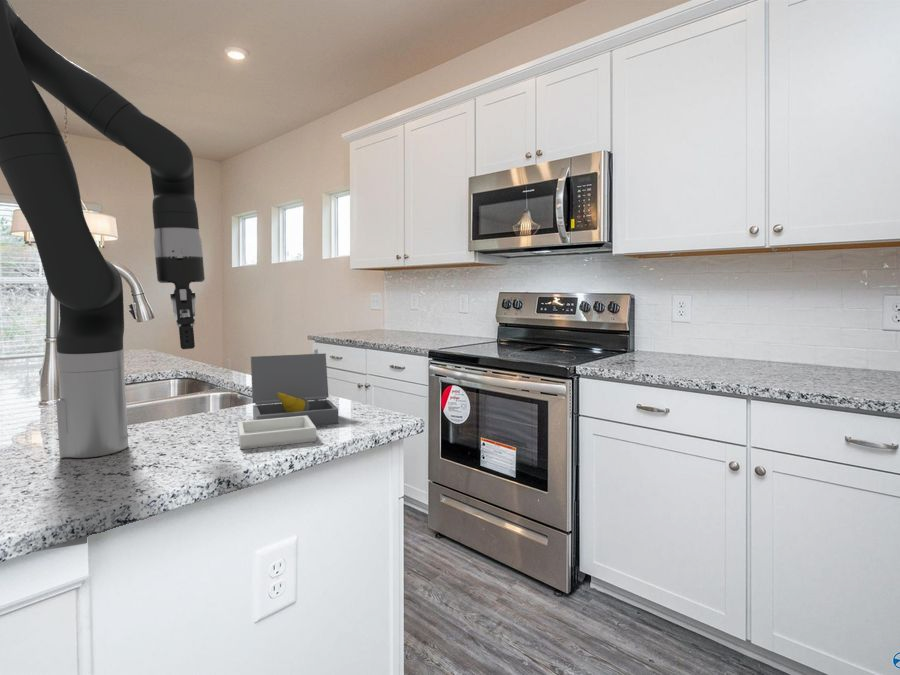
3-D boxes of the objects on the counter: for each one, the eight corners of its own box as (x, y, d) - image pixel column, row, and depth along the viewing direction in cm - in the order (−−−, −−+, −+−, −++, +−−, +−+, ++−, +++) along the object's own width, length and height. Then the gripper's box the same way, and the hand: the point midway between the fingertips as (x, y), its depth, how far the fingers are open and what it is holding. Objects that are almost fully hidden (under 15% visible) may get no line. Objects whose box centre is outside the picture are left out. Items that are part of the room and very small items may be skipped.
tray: (240, 449, 90) (240, 435, 90) (237, 434, 99) (237, 421, 99) (316, 441, 96) (316, 427, 96) (307, 427, 105) (307, 415, 105)
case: (256, 431, 102) (256, 416, 102) (253, 419, 111) (252, 405, 111) (338, 423, 108) (338, 409, 108) (328, 412, 117) (328, 399, 117)
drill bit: (316, 423, 110) (286, 397, 104) (295, 432, 111) (264, 406, 105) (318, 404, 114) (289, 377, 108) (298, 412, 115) (268, 387, 109)
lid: (250, 356, 112) (250, 357, 112) (253, 405, 110) (252, 405, 111) (326, 353, 118) (325, 353, 119) (328, 398, 117) (328, 399, 118)
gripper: (156, 257, 97) (164, 344, 99) (153, 253, 84) (163, 352, 86) (201, 257, 100) (208, 340, 102) (204, 253, 88) (212, 348, 89)
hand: (187, 346), depth 94 cm, fingers open, 8 cm apart
